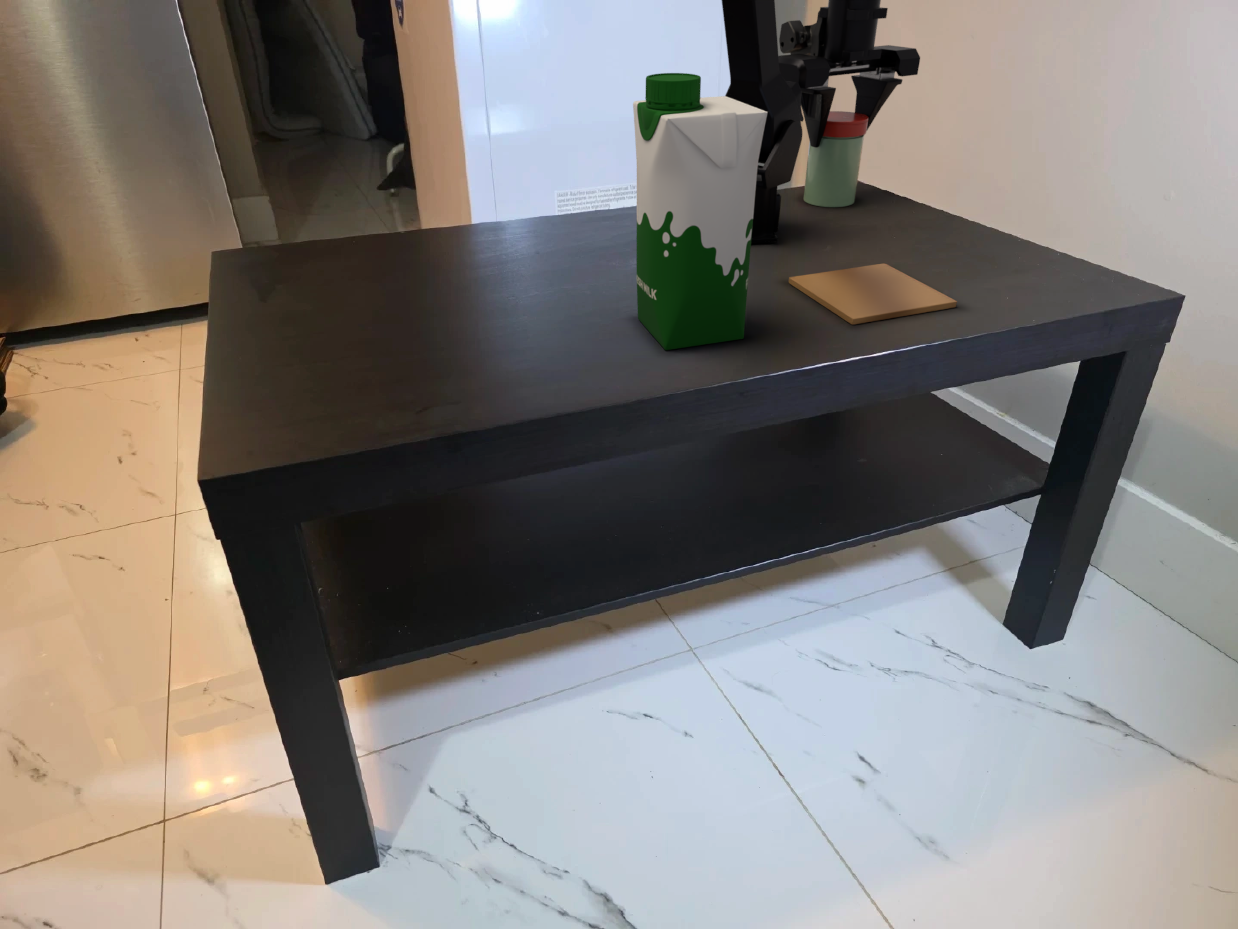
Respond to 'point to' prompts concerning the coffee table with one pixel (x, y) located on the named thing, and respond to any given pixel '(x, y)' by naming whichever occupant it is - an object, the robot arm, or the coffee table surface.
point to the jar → (833, 171)
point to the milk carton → (694, 210)
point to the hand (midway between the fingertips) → (836, 143)
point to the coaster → (871, 293)
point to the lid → (845, 124)
